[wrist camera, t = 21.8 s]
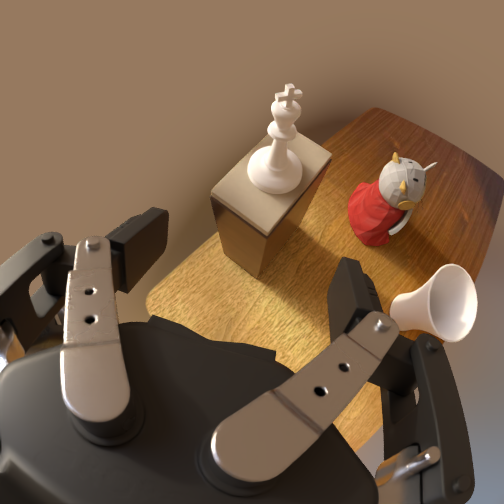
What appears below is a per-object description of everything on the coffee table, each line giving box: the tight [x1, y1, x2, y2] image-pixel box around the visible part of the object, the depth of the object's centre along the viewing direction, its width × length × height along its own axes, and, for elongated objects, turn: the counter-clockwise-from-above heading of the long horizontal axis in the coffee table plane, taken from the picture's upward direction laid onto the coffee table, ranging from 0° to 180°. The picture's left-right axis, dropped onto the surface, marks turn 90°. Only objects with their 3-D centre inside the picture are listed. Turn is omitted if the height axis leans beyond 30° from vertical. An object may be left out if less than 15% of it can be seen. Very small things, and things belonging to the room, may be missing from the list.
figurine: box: [348, 152, 437, 246], centre depth 38 cm, size 13×12×15 cm
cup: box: [390, 264, 478, 343], centre depth 34 cm, size 10×10×14 cm
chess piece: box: [248, 84, 302, 194], centre depth 19 cm, size 5×5×10 cm
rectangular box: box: [210, 132, 332, 279], centre depth 33 cm, size 11×6×20 cm, turn 142°
